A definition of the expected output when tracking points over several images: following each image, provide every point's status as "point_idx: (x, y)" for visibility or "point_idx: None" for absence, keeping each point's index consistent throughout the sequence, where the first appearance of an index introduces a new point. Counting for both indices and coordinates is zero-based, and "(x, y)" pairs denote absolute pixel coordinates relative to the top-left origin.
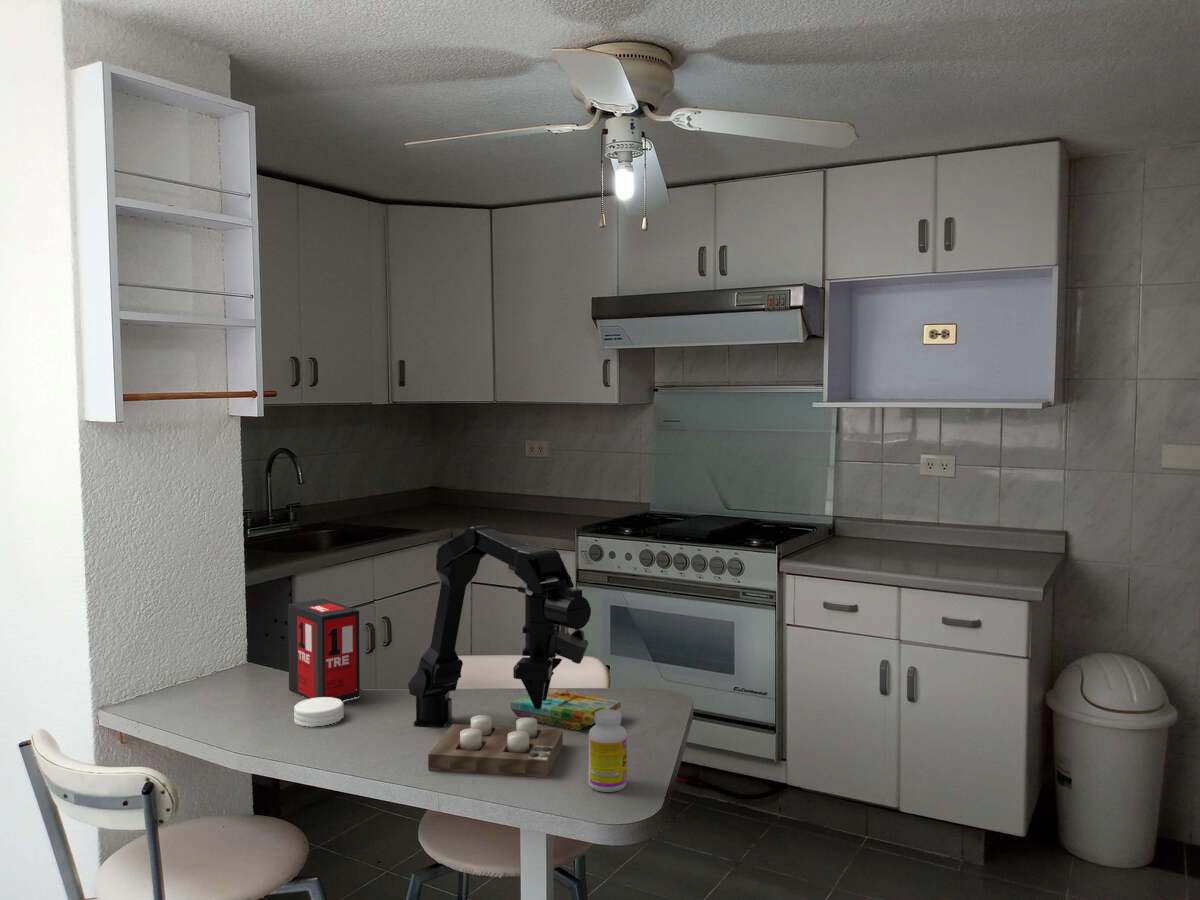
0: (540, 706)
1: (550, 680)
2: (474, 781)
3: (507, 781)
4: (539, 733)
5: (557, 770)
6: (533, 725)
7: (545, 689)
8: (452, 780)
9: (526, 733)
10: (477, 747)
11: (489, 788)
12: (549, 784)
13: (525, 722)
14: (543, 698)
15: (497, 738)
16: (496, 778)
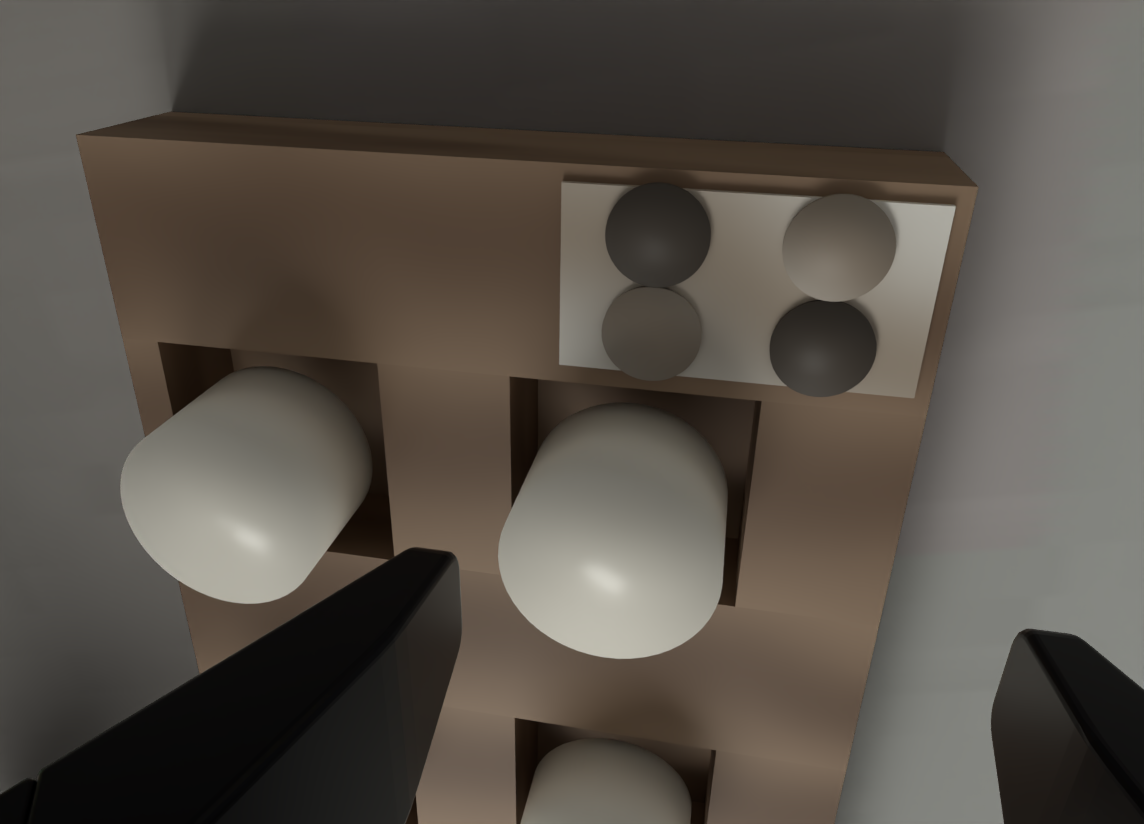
0: (1122, 680)
1: (43, 801)
2: (987, 677)
3: (1007, 472)
4: (179, 345)
5: (764, 77)
6: (274, 444)
7: (353, 727)
8: (958, 790)
9: (561, 500)
10: (663, 772)
11: (1141, 581)
12: (1122, 110)
13: (260, 527)
14: (451, 612)
15: None
16: (938, 550)
